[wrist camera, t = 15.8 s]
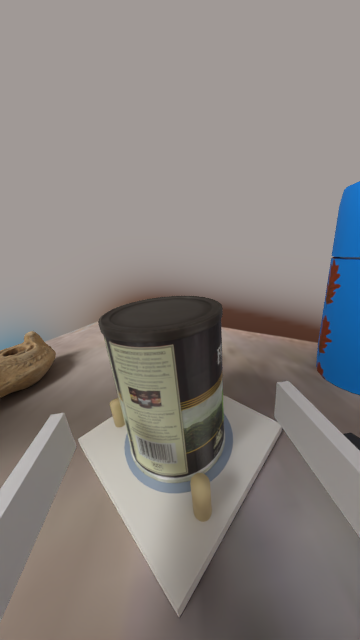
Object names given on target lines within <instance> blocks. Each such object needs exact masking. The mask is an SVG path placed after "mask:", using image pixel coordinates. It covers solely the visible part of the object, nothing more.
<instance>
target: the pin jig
mask: <svg viewBox="0 0 360 640" xmlns="http://www.w3.org/2000/svg"><path fill="white" fill-rule="evenodd" d="M110 408H111V412H112V415H113V416H112V417H110V418H109V419H107V420H106V421H104V422H103V423H101V424H100V425H98V426H97V427H95V428H94V429H92V430H91V431H89V432H88V433H86V434H85V435H83V436H82V437H80V438H79V439H78V441H79V444H80V446H81V448H82V450H83V452H84V453H85V455H86V457H87V459H88V460H89V462H90V464H91V466H92V467H93V469H94V471H95V473H96V474H97V476H98V478H99V479H100V481H101V483H102V485H103V486H104V488H105V490H106V492H107V493H108V495H109V497H110V499H111V500H112V502H113V504H114V506H115V507H116V509H117V511H118V513H119V514H120V516H121V518H122V520H123V521H124V523H125V525H126V526H127V528H128V530H129V532H130V533H131V535H132V537H133V539H134V540H135V542H136V544H137V546H138V547H139V549H140V551H141V553H142V554H143V556H144V558H145V560H146V561H147V563H148V565H149V567H150V568H151V570H152V572H153V574H154V575H155V577H156V579H157V580H158V582H159V584H160V586H161V587H162V589H163V591H164V593H165V594H166V596H167V598H168V600H169V601H170V603H171V605H172V607H173V608H174V610H175V612H176V614H177V615H178V617H179V618H180V616H181V614H182V612H183V610H184V608H185V607H186V605H187V603H188V601H189V599H190V597H191V596H192V594H193V592H194V590H195V588H196V587H197V585H198V583H199V581H200V579H201V577H202V576H203V574H204V572H205V570H206V568H207V567H208V565H209V563H210V561H211V559H212V557H213V556H214V554H215V552H216V550H217V548H218V546H219V545H220V543H221V541H222V539H223V537H224V536H225V534H226V532H227V530H228V528H229V526H230V525H231V523H232V521H233V519H234V517H235V515H236V514H237V512H238V510H239V508H240V506H241V505H242V503H243V501H244V499H245V497H246V495H247V494H248V492H249V490H250V488H251V486H252V484H253V483H254V481H255V479H256V477H257V475H258V474H259V472H260V470H261V468H262V466H263V464H264V463H265V461H266V459H267V457H268V455H269V453H270V452H271V450H272V448H273V446H274V444H275V443H276V441H277V439H278V437H279V435H280V433H281V432H282V427H281V425H280V424H279V423H278V422H276V421H274V420H272V419H270V418H268V417H266V416H264V415H262V414H261V413H259V412H257V411H255V410H253V409H251V408H249V407H247V406H245V405H243V404H241V403H239V402H237V401H235V400H233V399H231V398H229V397H227V396H225V395H223V408H224V429H225V444H224V448H223V451H222V454H221V456H220V457H219V459H218V460H217V462H216V463H215V464H214V466H213V467H212V468H211V469H210V470H208V471H207V472H206V473H204V474H203V473H196V474H195V475H194V476H193V477H192V478H191V480H190V481H188V482H181V483H165V482H160V481H157V480H155V479H153V478H151V477H149V476H147V475H145V474H144V473H143V472H142V471H141V470H140V469H139V468H138V467H137V465H136V464H135V462H134V460H133V458H132V455H131V451H130V442H129V438H128V434H127V429H126V426H125V422H124V417H123V413H122V409H121V405H120V402H119V398H116V399H114V400H112V401H111V402H110Z"/></svg>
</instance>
